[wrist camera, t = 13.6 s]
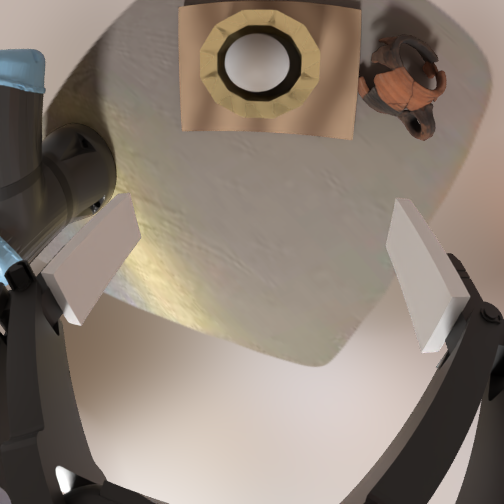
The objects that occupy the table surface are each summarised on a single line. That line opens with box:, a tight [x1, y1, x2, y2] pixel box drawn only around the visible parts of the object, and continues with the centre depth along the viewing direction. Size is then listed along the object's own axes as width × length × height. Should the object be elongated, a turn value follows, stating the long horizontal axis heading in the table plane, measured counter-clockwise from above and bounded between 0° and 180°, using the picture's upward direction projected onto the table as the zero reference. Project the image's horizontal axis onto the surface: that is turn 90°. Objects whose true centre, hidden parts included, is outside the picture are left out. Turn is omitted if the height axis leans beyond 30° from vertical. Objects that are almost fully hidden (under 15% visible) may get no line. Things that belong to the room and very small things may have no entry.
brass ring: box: [200, 10, 320, 119], centre depth 23 cm, size 10×10×6 cm
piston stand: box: [179, 1, 361, 140], centre depth 24 cm, size 20×16×11 cm
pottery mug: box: [358, 35, 446, 141], centre depth 25 cm, size 12×10×8 cm
